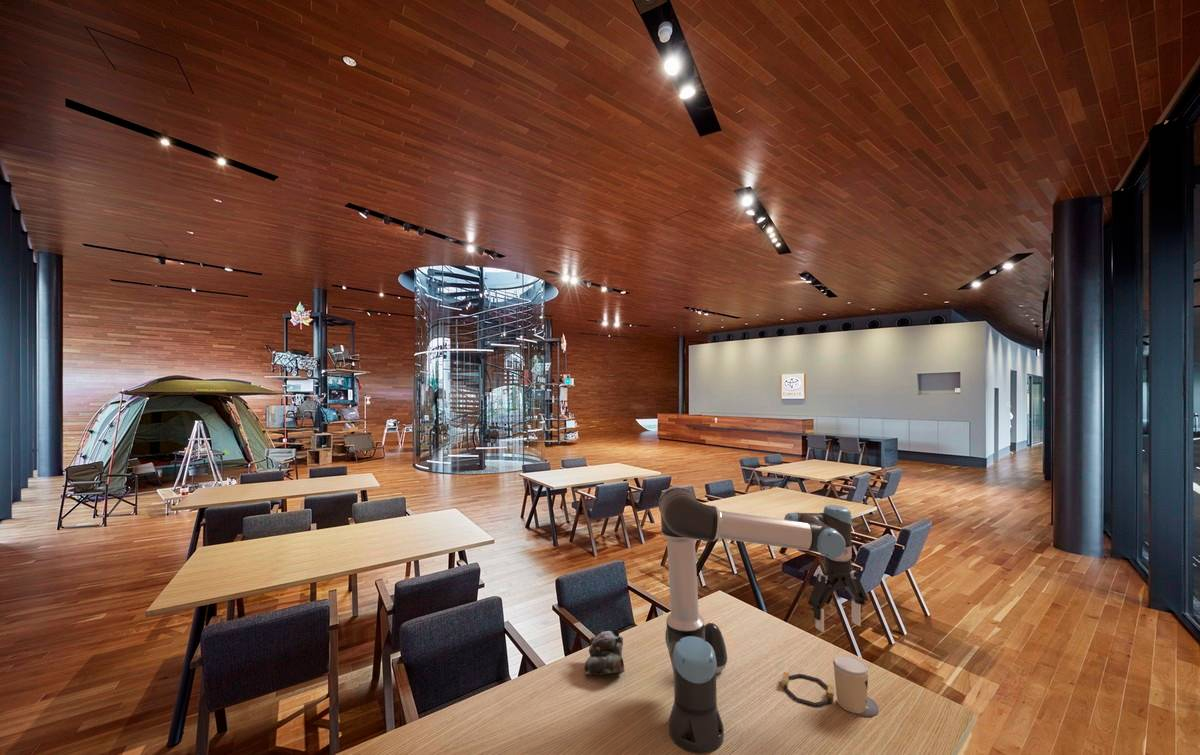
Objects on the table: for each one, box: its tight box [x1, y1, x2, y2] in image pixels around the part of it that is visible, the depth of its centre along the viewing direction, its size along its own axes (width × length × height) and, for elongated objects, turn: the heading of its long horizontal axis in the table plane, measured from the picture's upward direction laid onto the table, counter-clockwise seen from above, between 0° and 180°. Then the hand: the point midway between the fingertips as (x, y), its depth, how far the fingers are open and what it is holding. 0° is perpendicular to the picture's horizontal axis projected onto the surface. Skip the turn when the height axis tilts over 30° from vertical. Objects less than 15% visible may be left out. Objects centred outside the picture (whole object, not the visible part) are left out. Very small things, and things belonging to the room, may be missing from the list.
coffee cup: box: [832, 654, 870, 714], centre depth 137 cm, size 9×9×12 cm
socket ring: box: [781, 671, 835, 708], centre depth 144 cm, size 14×14×2 cm
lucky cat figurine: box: [583, 629, 625, 676], centre depth 157 cm, size 15×12×14 cm
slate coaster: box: [851, 695, 880, 718], centre depth 137 cm, size 10×10×1 cm
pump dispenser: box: [704, 622, 728, 674], centre depth 156 cm, size 10×10×15 cm
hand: (838, 626), depth 140 cm, fingers open, 13 cm apart
